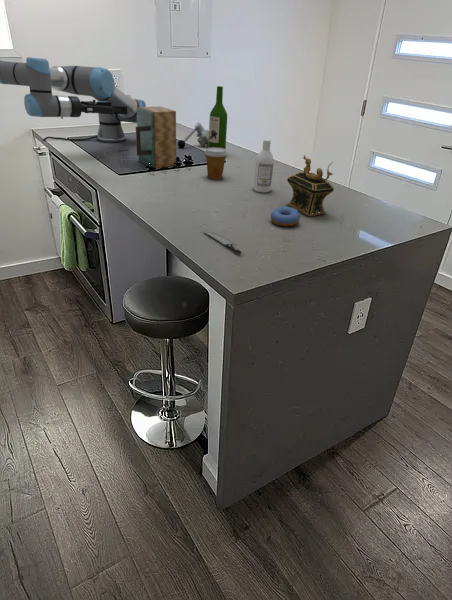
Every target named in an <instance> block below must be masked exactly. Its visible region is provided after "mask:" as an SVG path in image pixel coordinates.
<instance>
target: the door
mask: <svg viewBox="0 0 452 600" xmlns="http://www.w3.org/2000/svg"><path fill="white" fill-rule="evenodd" d="M136 125H137V126H135V143H136V144H135V145H136V156H138V162H140V163H142V164H144V165H146V166H147V167H149V168H151V169H156V168H155V153H154V118H153V112H150V111H147V110H144V109H141V108H137V123H136ZM148 163H150V164H152V166H151V165H149V164H148Z"/></svg>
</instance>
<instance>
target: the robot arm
mask: <svg viewBox="0 0 452 600" xmlns="http://www.w3.org/2000/svg"><path fill="white" fill-rule="evenodd" d="M0 84H2V85H11V86H22V87H23V86H24V87H29V93H27V94H24V98H23V99H24V101H23V104H24V110H25V112H26V114H28V116H30V117H36V118H37V117H38V118H60V119H62V120H63V119H64V118H80V117H81V116H82V113H84V114H98V124H99V125H98V131H97V135H93V136H90V137H86V138H66V137H59V136H58V137H55V136H45V137H44V138H43V139H42V142H45V141H46V140H48V139H51V140H62V141H63V140H64V141H68V142H69V141H70V142H71V141H72V142H77V141H78V142H80V141H89V140H93V139H97V141H98V142H101V143H108V144H110V143H112V144H114V143H123V142H125V141H126V136H125V135H126V134H125V133H124V130H123V127H122V122H124V123H131V124H132V123H134V124H137V108H139V107H147V104H146V102H145V100H143V99H138V98H135V97H134V96H132V95H131V94H125V92H123V91H122V90H120V89H119V88H118V87H117V86H116V83H115V78H114V76H113V73H112V72H111V71H110V70H109V69H108V68H104V67H100V66H97V67H94V66H83V65H61V66H60V65H53V66H51V67H50V63H49V61H48V59H47V58H41V57H30V56H29V57H26V59H25V62H17V61H5V60H0ZM53 90H54V91H57V92H64V93H68V94H71V95H62V94H61V95H59V94H53ZM78 96H84V97H85V96H86V97H92V98H93V99H92V100H88V101H84V100H81V99H80V98H79V97H78ZM49 215H50V219H53V213H51V212H50V213H49Z"/></svg>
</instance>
